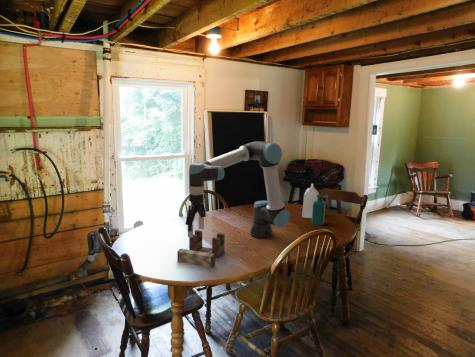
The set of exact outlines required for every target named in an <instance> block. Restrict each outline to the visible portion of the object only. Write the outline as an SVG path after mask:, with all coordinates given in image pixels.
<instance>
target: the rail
mask: <svg viewBox="0 0 475 357" xmlns="http://www.w3.org/2000/svg"><path fill="white" fill-rule="evenodd" d="M176 252H177V254H176V255H177V263H182V264H188V265H195V266H200V267H205V268H206V267H207V268H211V269H213V267H215V265H216V258H215V254H212V253H205V252H199V251H193V250H189V249H185V248H180V249H178V250H177V251H176Z"/></svg>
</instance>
